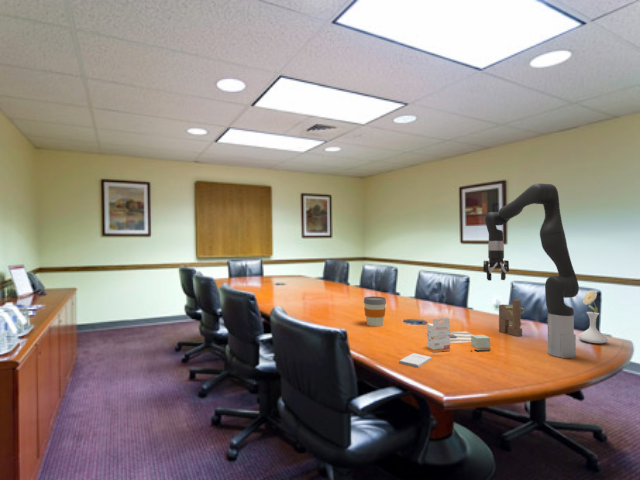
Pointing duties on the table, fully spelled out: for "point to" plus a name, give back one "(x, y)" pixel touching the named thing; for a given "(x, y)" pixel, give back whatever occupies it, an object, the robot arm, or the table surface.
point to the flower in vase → (592, 322)
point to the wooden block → (506, 316)
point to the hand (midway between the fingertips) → (496, 280)
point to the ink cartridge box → (438, 335)
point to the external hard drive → (415, 360)
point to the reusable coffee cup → (374, 310)
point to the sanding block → (480, 342)
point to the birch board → (460, 337)
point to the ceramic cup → (511, 311)
